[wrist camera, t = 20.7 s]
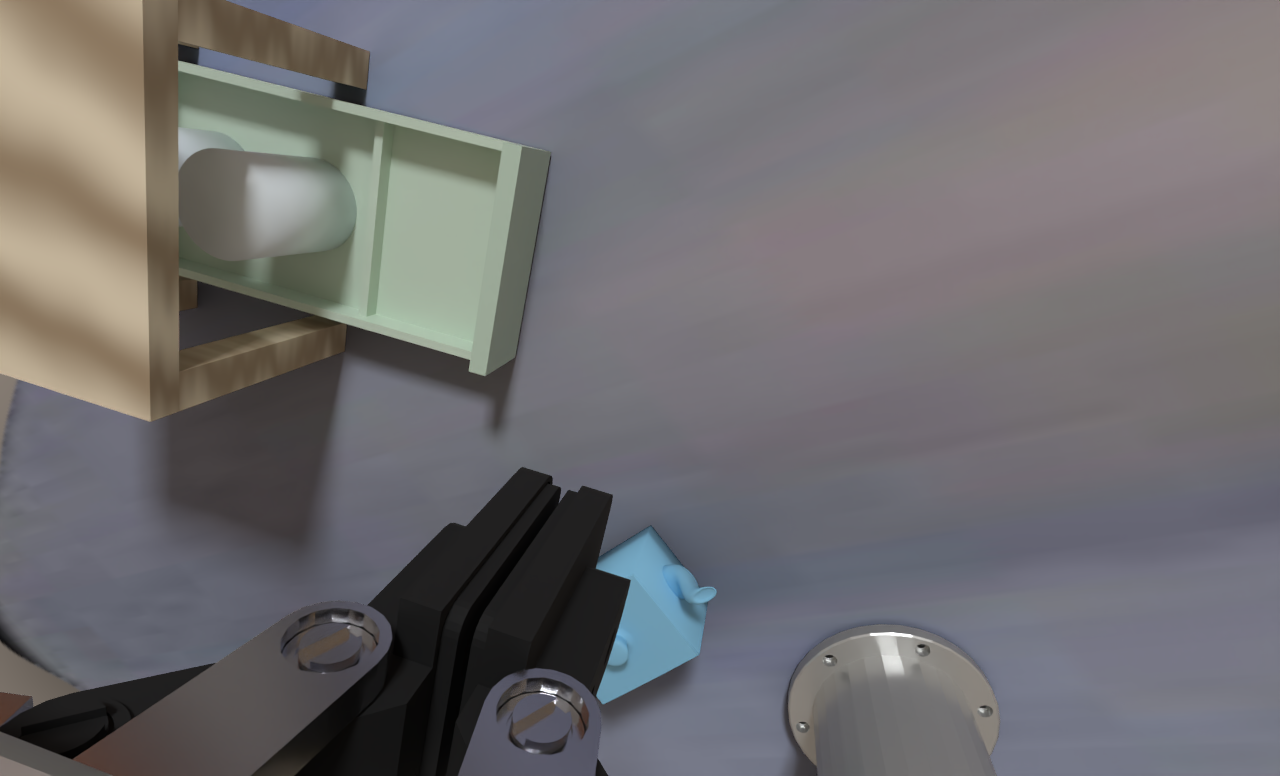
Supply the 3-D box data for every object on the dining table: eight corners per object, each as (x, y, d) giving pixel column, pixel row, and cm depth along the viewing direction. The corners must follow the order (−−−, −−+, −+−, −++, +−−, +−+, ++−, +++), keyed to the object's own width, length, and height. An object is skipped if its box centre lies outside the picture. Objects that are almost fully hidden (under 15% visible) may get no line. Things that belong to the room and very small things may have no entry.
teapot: (695, 491, 40) (679, 555, 33) (752, 565, 41) (748, 643, 34) (555, 578, 44) (513, 652, 37) (609, 645, 45) (578, 729, 38)
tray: (515, 357, 40) (485, 376, 36) (175, 259, 43) (111, 266, 38) (551, 151, 36) (521, 146, 32) (174, 59, 39) (102, 42, 35)
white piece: (349, 262, 39) (265, 274, 33) (270, 235, 40) (171, 242, 33) (362, 172, 38) (276, 166, 31) (280, 145, 38) (177, 133, 31)
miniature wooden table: (344, 351, 42) (150, 421, 29) (171, 300, 44) (-88, 345, 31) (369, 51, 36) (141, -30, 23) (169, 4, 38) (-152, -97, 25)
